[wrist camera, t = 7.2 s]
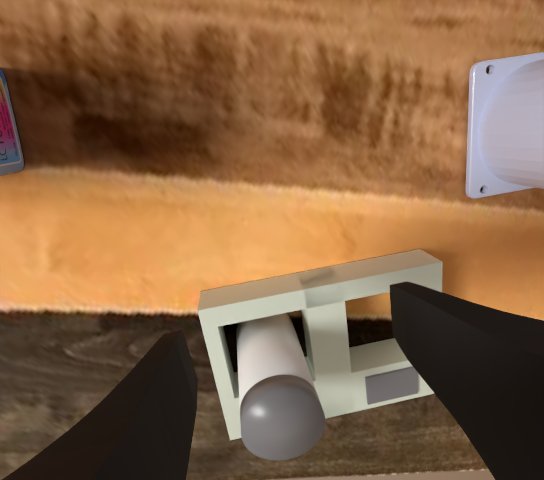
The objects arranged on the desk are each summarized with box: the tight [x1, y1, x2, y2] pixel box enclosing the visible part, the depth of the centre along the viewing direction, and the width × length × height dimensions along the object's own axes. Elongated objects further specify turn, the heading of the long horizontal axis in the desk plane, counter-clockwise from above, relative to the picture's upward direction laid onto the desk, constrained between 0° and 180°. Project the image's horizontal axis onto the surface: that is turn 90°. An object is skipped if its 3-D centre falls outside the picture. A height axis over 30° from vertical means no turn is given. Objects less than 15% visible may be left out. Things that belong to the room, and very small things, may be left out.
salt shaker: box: [236, 313, 325, 460], centre depth 19 cm, size 4×4×8 cm
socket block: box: [198, 249, 443, 440], centre depth 22 cm, size 15×10×3 cm, turn 99°
